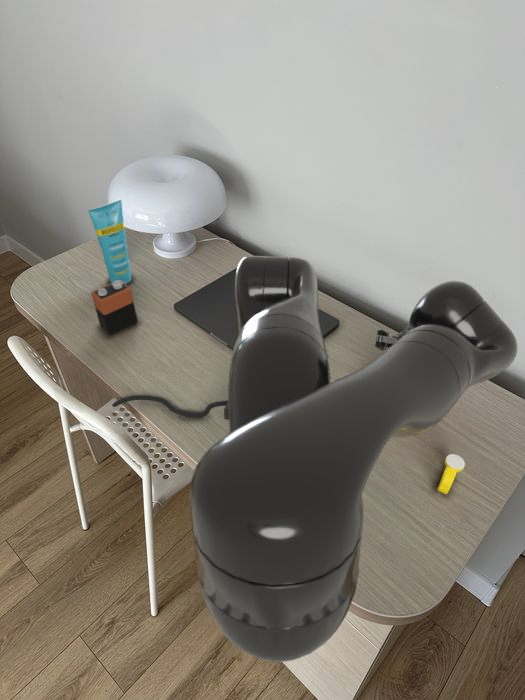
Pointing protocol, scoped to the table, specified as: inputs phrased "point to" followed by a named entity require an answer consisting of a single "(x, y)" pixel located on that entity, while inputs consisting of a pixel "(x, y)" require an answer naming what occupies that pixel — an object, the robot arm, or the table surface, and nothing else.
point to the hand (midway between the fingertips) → (412, 349)
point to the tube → (112, 240)
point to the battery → (114, 307)
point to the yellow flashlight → (450, 472)
